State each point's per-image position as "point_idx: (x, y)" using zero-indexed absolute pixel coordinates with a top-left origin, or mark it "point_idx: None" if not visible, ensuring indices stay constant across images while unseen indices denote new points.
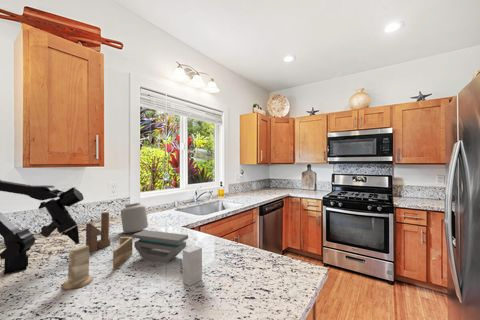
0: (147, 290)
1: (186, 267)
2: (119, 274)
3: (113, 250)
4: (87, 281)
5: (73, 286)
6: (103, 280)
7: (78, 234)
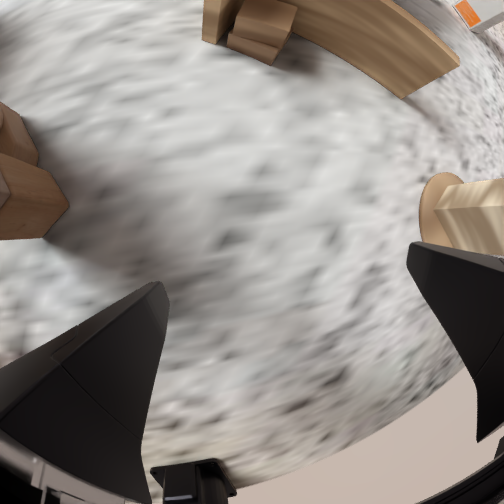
0: (490, 84)
1: (496, 21)
2: (433, 94)
3: (459, 65)
4: None
5: None
6: (455, 144)
7: (499, 258)
